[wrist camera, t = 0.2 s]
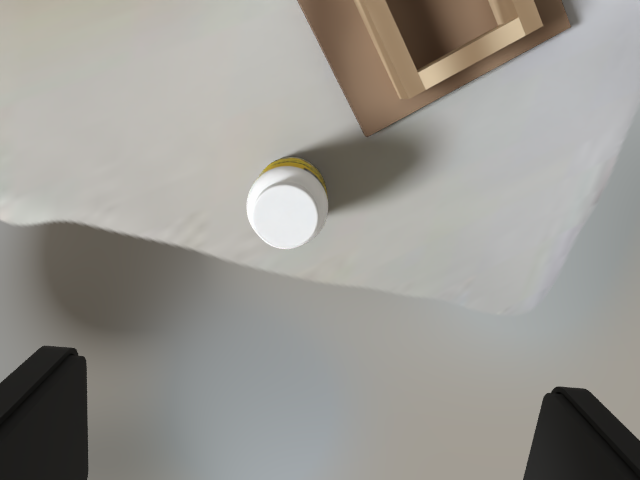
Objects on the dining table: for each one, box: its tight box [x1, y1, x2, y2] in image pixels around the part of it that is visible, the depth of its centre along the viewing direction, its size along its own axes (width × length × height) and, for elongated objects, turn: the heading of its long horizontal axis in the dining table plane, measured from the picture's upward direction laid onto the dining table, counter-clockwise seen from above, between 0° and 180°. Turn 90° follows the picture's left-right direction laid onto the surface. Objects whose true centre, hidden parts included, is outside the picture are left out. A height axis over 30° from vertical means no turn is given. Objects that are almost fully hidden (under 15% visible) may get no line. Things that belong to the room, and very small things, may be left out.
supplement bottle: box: [247, 157, 328, 249], centre depth 34 cm, size 5×5×10 cm
